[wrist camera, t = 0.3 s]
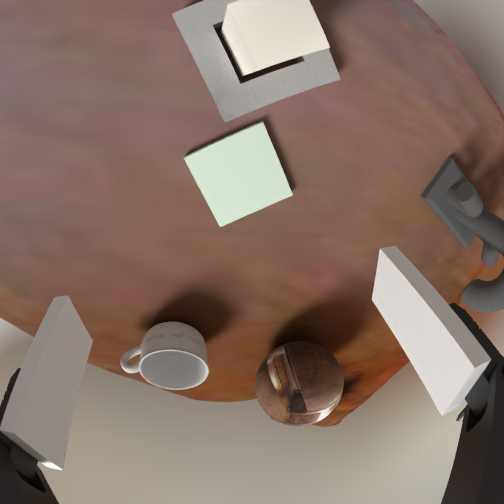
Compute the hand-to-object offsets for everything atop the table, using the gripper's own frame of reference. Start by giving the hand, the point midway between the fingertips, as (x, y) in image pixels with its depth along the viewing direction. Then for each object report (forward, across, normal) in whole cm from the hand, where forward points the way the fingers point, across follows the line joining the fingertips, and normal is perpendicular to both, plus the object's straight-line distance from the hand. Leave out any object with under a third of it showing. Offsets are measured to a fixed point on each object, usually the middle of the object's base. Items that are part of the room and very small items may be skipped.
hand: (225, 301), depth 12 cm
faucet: (+27, +37, -14) cm, 48 cm away
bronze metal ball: (+27, +8, -37) cm, 47 cm away
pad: (+27, +3, -3) cm, 27 cm away
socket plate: (+27, +6, +12) cm, 31 cm away
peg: (+27, +6, +12) cm, 31 cm away
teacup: (+27, -12, -28) cm, 41 cm away
